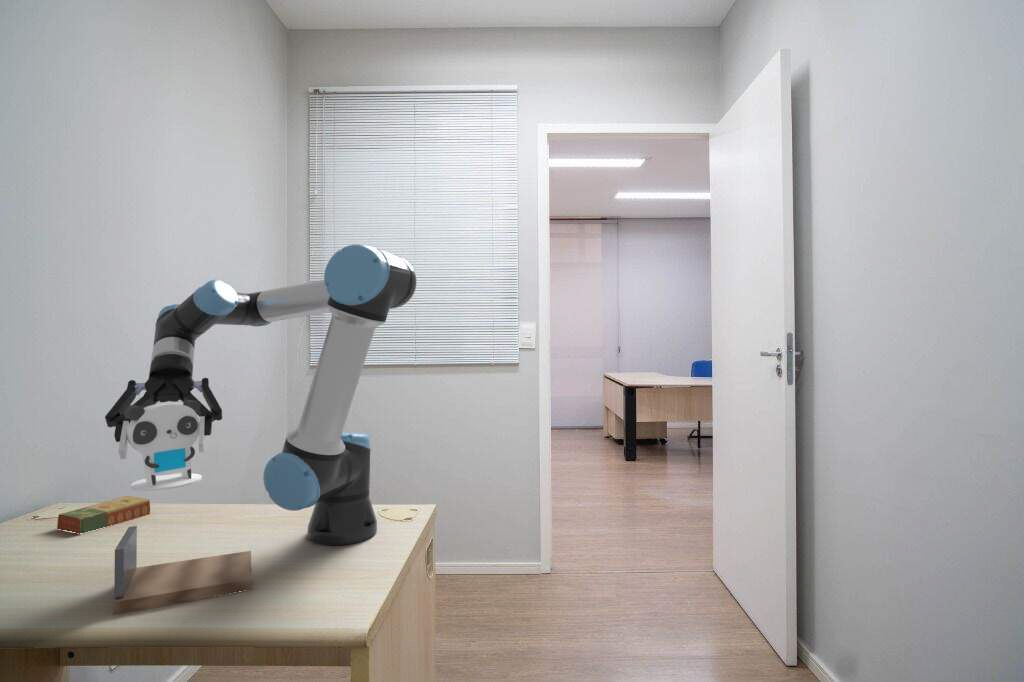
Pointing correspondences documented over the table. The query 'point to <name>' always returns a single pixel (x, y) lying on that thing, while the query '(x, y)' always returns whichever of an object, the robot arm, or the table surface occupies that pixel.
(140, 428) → the panda figurine
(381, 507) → the table surface
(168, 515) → the table surface
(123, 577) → the bookend
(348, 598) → the table surface
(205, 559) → the shelf board
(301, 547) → the table surface
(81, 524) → the carton
